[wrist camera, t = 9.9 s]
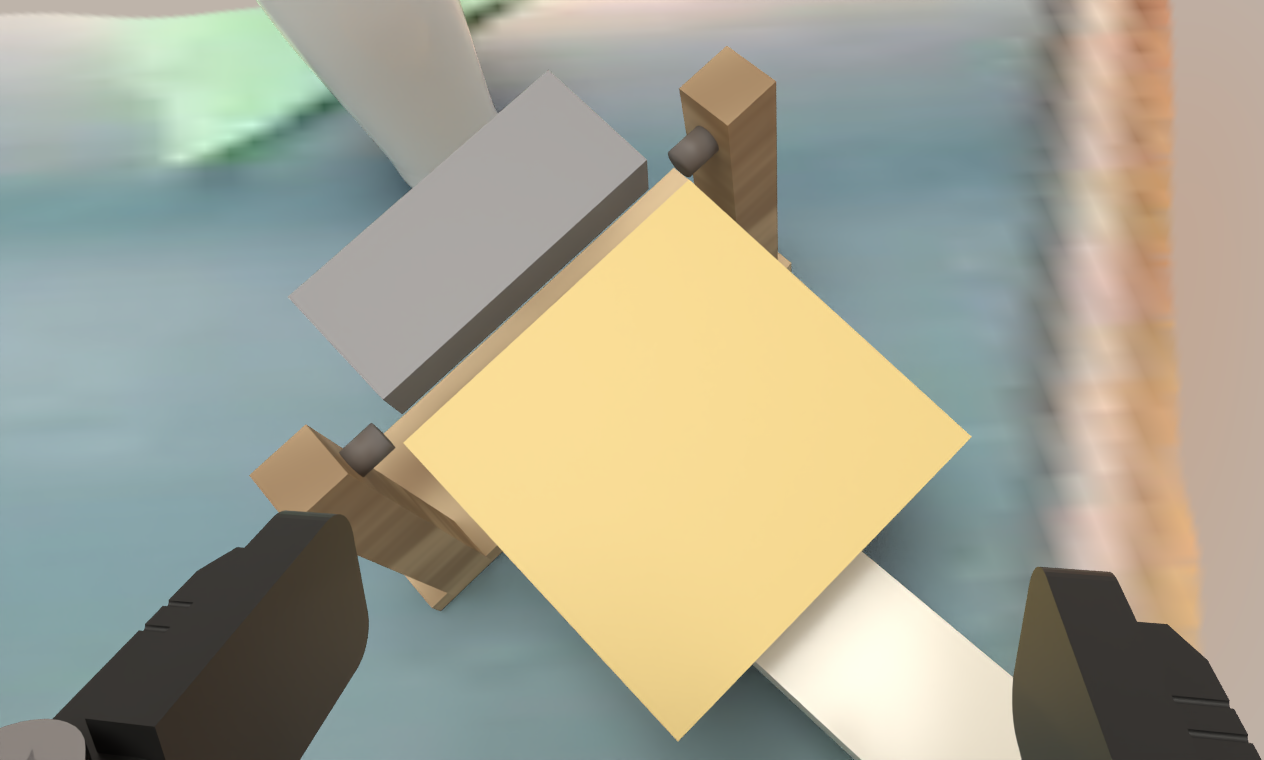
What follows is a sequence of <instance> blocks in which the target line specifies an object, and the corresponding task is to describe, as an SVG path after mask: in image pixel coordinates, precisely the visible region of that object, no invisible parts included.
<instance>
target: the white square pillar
mask: <svg viewBox="0 0 1264 760" xmlns="http://www.w3.org/2000/svg"><path fill="white" fill-rule="evenodd" d="M752 665H753V666H754V667H756V668H757V669H758V670H759V671H760V672H761V673H762V674H763V675H764V676H765V677H766V678H767V679H768V680H770V681H771V682H772V683H773V684H774V685H775V686H776V687H777V688H778V689H779V690H780V691H781V692H782V693H783V694H785V695H786V696H787V697H788V698H789V699H790V700H791V701H792V702H793V703H794V704H795V705H796V706H797V707H798V708H800V709H801V710H802V711H803V712H804V713H805V714H806V715H807V716H808V717H809V718H810V719H811V720H812V721H814V722H815V723H816V724H817V725H818V726H819V727H820V728H821V729H822V730H823V731H824V732H825V733H826V734H827V735H829V736H830V737H831V738H832V739H833V740H834V741H835V742H836V743H837V744H838V745H839V746H840V747H841V748H842V749H844V750H845V751H846V752H847V753H848V754H849V755H850V756H851V757H852V758H853V759H854V760H1021V756H1020V752H1019V748H1018V744H1017V740H1016V735H1015V730H1014V723H1013V712H1012V685H1013V677H1012V676H1011V675H1009V674H1008V673H1007V672H1006V671H1005V670H1003V669H1002V668H1001V667H1000V666H999V665H997V664H996V663H995V662H994V661H993V660H991V659H990V658H989V657H988V656H987V655H985V654H984V653H983V652H982V651H981V650H979V649H978V648H977V647H976V646H975V645H973V644H972V643H971V642H970V641H969V640H967V639H966V638H965V637H964V636H963V635H961V634H960V633H959V632H958V631H957V630H955V629H954V628H953V627H952V626H951V625H949V624H948V623H947V622H946V621H945V620H943V619H942V618H941V617H940V616H939V615H937V614H936V613H935V612H934V611H933V610H931V609H930V608H929V607H928V606H927V605H925V604H924V603H923V602H922V601H921V600H919V599H918V598H917V597H916V596H915V595H914V594H912V593H911V592H910V591H909V590H908V589H906V588H905V587H904V586H903V585H902V584H900V583H899V582H898V581H897V580H896V579H894V578H893V577H892V576H891V575H890V574H888V573H887V572H886V571H885V570H884V569H882V568H881V567H880V566H879V565H878V564H876V563H875V562H874V561H873V560H872V559H870V558H869V557H868V556H867V555H866V554H864V553H863V552H862V551H861V552H860V553H859V554H858V555H857V556H856V557H855V558H854V559H853V560H852V561H851V562H850V563H849V565H848V566H847V567H846V568H845V569H844V570H843V571H842V572H841V573H840V574H839V575H838V576H837V577H836V578H835V579H834V580H833V581H832V582H831V583H830V584H829V585H828V586H827V587H826V588H825V589H824V590H823V592H822V593H821V594H820V595H819V596H818V597H817V598H816V599H815V600H814V601H813V602H812V603H811V604H810V605H809V606H808V607H807V608H806V609H805V610H804V611H803V612H802V613H801V614H800V615H799V616H798V617H797V618H796V620H795V621H794V622H793V623H792V624H791V625H790V626H789V627H788V628H787V629H786V630H785V631H784V632H783V633H782V634H781V635H780V636H779V637H778V638H777V639H776V640H775V641H774V642H773V643H772V644H771V645H770V646H769V648H768V649H767V650H766V651H765V652H764V653H763V654H762V655H761V656H760V657H759V658H758V659H757V660H756V661H755V662H754V663H753V664H752Z"/></svg>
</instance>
